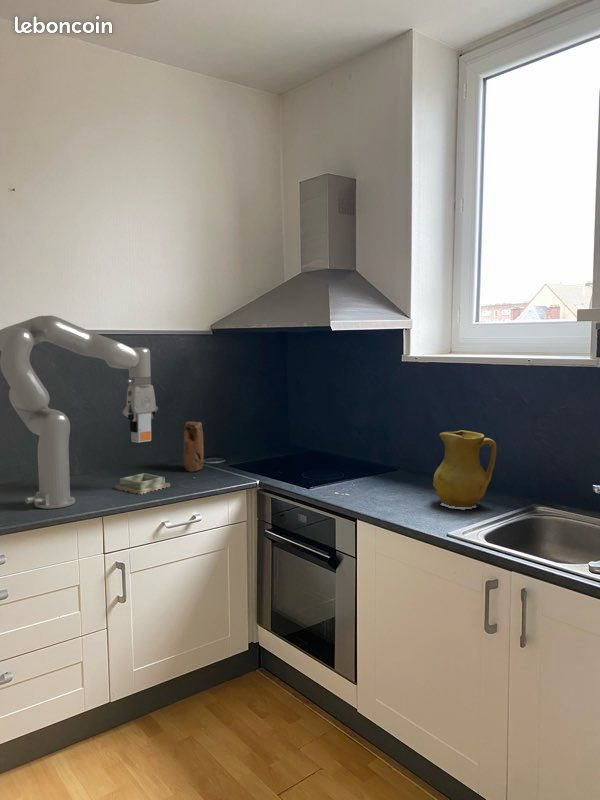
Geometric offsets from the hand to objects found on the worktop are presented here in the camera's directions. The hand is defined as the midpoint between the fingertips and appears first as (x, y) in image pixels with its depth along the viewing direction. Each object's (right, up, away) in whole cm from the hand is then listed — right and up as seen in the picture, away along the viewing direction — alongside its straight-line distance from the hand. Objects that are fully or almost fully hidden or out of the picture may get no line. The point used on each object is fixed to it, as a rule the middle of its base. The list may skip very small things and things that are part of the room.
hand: (141, 430), depth 229 cm
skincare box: (0, -4, 0) cm, 4 cm away
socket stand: (0, -21, +2) cm, 21 cm away
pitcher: (+112, -24, -20) cm, 116 cm away
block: (+14, -18, +33) cm, 40 cm away
